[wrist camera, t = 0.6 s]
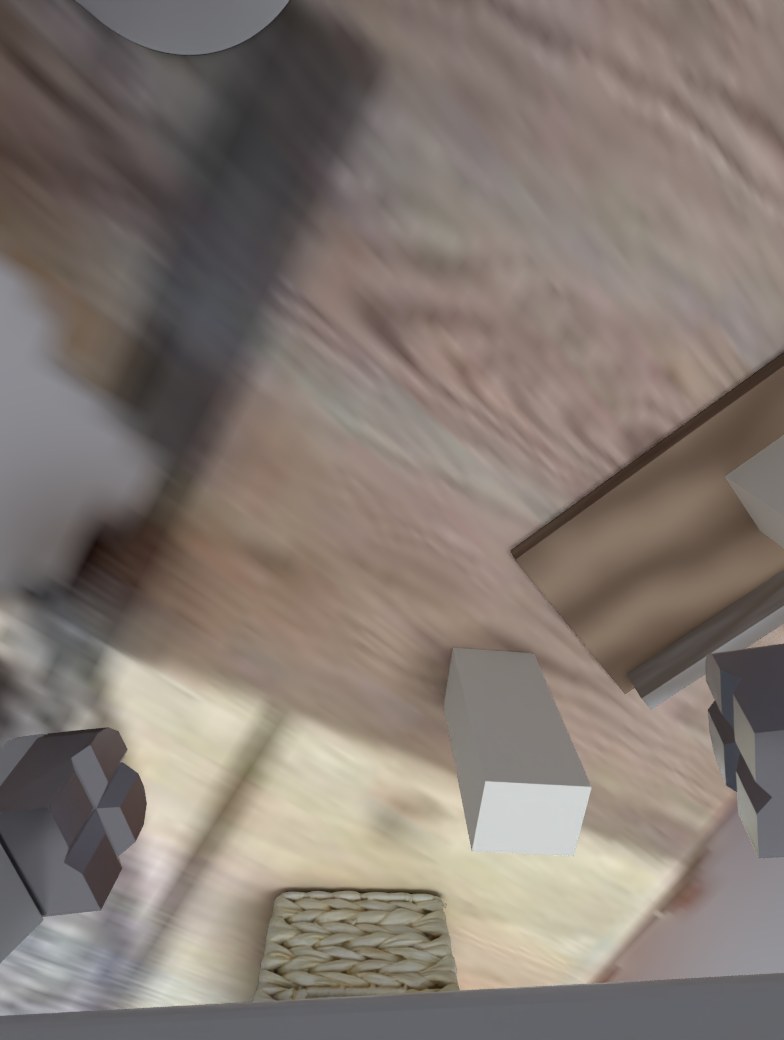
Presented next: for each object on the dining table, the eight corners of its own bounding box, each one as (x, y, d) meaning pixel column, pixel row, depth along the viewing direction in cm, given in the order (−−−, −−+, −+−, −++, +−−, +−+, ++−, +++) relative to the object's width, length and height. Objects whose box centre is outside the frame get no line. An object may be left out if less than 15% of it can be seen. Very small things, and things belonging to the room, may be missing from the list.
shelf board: (510, 551, 51) (524, 579, 47) (821, 325, 46) (867, 335, 42) (617, 682, 55) (639, 719, 51) (911, 488, 51) (961, 511, 47)
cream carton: (452, 647, 54) (485, 781, 41) (533, 653, 54) (591, 787, 41) (443, 708, 55) (471, 854, 42) (521, 713, 56) (572, 859, 43)
